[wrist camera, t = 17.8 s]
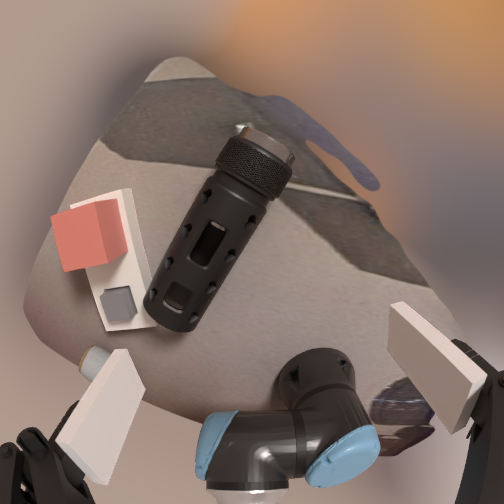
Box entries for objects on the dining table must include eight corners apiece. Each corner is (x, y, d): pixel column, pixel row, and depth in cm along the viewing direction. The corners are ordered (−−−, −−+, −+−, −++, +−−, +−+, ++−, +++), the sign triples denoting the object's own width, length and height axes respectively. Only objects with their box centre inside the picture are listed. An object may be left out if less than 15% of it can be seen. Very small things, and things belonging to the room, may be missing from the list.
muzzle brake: (153, 283, 45) (131, 309, 35) (239, 132, 40) (238, 116, 30) (202, 312, 46) (192, 344, 36) (292, 164, 41) (308, 158, 31)
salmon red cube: (128, 250, 39) (108, 263, 32) (87, 259, 39) (64, 272, 32) (117, 198, 37) (94, 201, 30) (75, 210, 37) (50, 216, 31)
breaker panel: (163, 315, 46) (156, 326, 42) (114, 321, 46) (105, 331, 42) (131, 188, 41) (121, 189, 37) (81, 203, 41) (69, 205, 37)
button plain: (139, 308, 43) (131, 319, 39) (117, 311, 43) (108, 322, 39) (131, 284, 42) (122, 293, 38) (109, 287, 42) (99, 296, 38)
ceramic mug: (95, 336, 47) (78, 356, 40) (131, 356, 48) (117, 380, 41) (87, 369, 49) (72, 390, 42) (119, 387, 50) (107, 410, 43)
